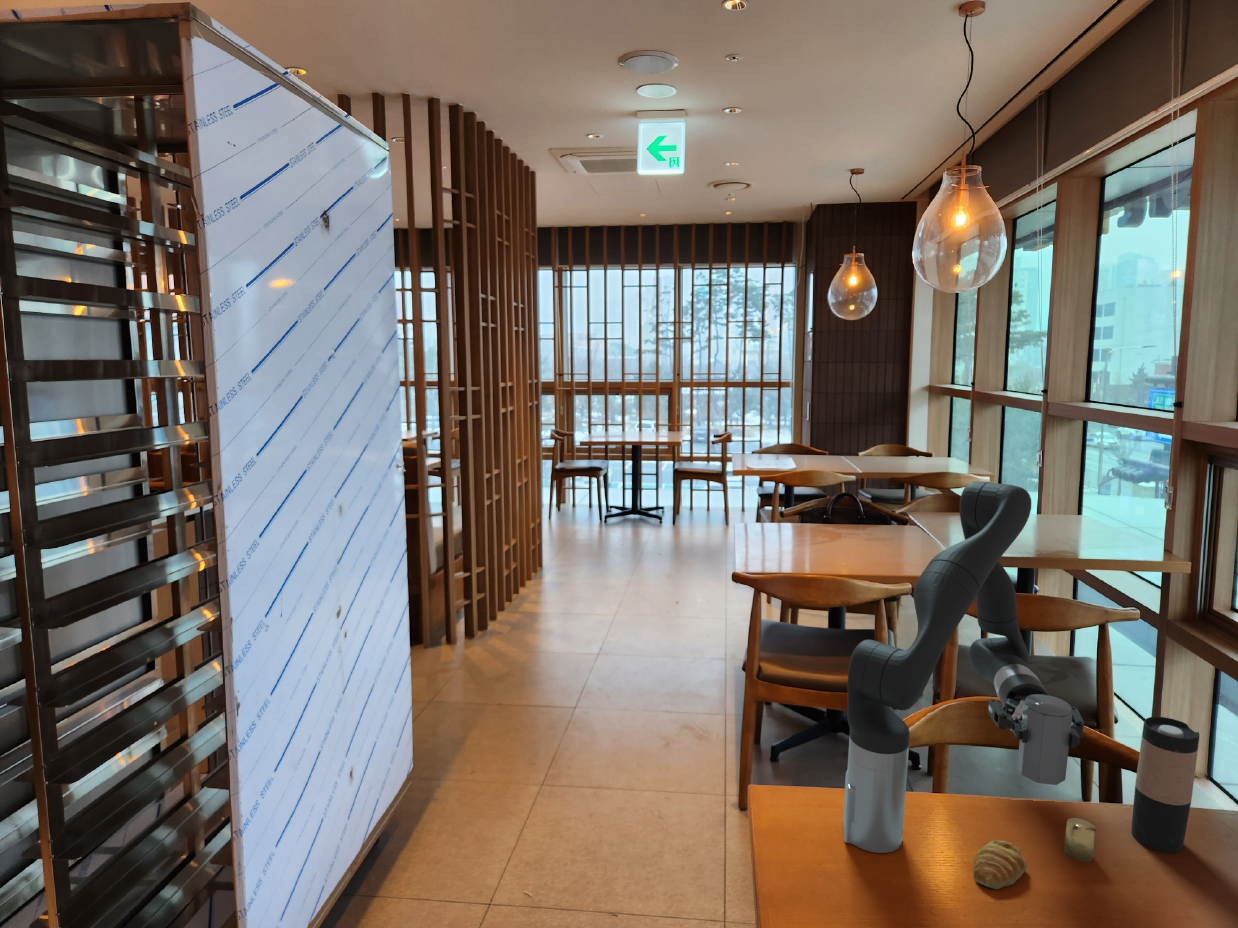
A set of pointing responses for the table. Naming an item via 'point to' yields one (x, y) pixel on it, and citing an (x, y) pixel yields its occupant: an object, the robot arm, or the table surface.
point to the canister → (1045, 739)
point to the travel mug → (1164, 784)
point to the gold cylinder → (1079, 839)
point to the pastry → (998, 864)
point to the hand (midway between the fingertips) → (1049, 739)
